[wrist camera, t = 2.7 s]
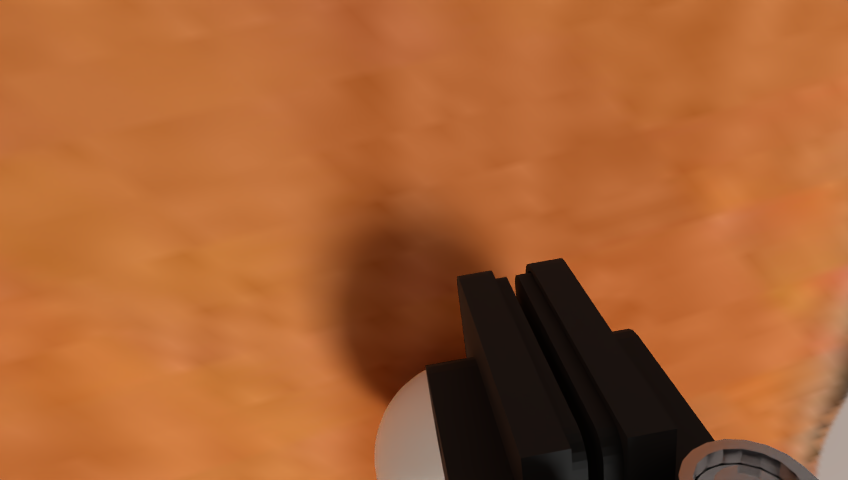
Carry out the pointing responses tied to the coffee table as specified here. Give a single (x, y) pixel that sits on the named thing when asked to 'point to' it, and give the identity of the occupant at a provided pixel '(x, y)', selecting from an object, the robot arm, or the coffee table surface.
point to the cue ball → (408, 436)
